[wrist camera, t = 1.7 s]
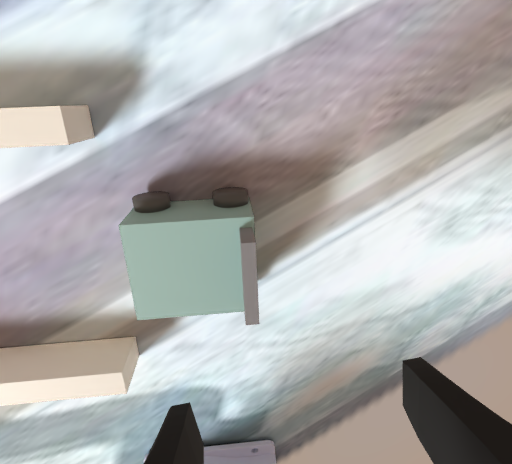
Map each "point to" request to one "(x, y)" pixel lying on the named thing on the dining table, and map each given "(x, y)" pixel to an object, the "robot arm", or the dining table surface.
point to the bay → (71, 353)
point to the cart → (192, 255)
